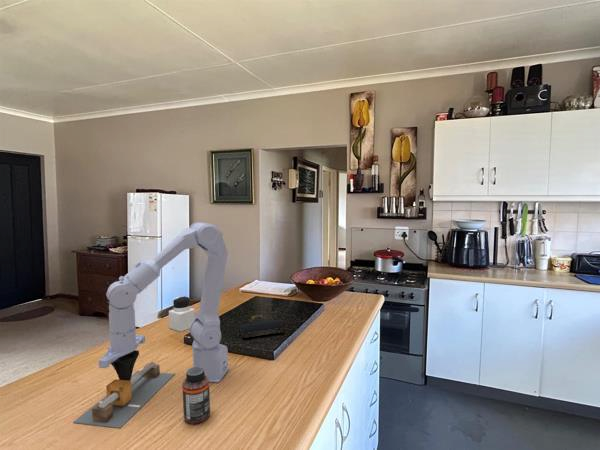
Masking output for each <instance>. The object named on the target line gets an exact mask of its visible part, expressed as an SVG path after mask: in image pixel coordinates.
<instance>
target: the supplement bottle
mask: <svg viewBox="0 0 600 450" xmlns="http://www.w3.org/2000/svg"><path fill="white" fill-rule="evenodd" d="M185 377H186V378H185V379H184V380H183V381H182V404H183V405H182V406H183V409H182V411H183V419H184V421H185V422H186V423H187V424H192V425H193V424H200V423H202V422H204V421H205V420H207V419H208V418H209V416H210V414H211V402H210V401H211V400H210V399H211V396H210V394H211V393H210V382H209V379H208V377H207V376H206V375H205V373H204V368H203V367H193V366H192V367H190V368H188V369H187V370H186V375H185Z"/></svg>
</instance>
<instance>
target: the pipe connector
mask: <svg viewBox="0 0 600 450" xmlns="http://www.w3.org/2000/svg"><path fill="white" fill-rule="evenodd" d="M251 322H252V324H251ZM281 327H283V328H284V324H283V321H282V319H276V320H275V319H274V320H269V321H265V318H264V316H263V315H262V314H260V315H259V314H258V315H257V314H256V315H252V316H251V319H250V323H246V324H241V325H240V330H241V329H242V332H243V333H247V332H253V331H260V330H268V329H275V328H281Z"/></svg>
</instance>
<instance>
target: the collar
mask: <svg viewBox="0 0 600 450" xmlns="http://www.w3.org/2000/svg"><path fill="white" fill-rule="evenodd" d="M105 388H106V395H107V397H109V396H110V395H111V394H112V393H114V392H115V391H119V392H120V397H119V398H118V399H117V400H116V401H114V402H113V403H112V405H122V406H124V405H125V404H126V403H127V402H128V401H129V400H130V399H132V395H131V381H127V380H119V379H114V380H112V381H111V382H110V383H108V384H107V385H106V387H105Z"/></svg>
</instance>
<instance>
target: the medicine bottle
mask: <svg viewBox="0 0 600 450" xmlns="http://www.w3.org/2000/svg"><path fill="white" fill-rule="evenodd" d="M190 301H191V300H190V297H188V296H183V295H182V296H177V297H175V298H174V299H173V300H172V304H173V308H172V309H170V310H168V323H169V324H168V327H169V329H171V330H175V331H177V332H180V333H182V332H185V331H186V330H190V326H191V324H192V322H193V321H194V319H195V314H196V313H195V312H196V309H195V308H191V307H190V306H191V303H190Z"/></svg>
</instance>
